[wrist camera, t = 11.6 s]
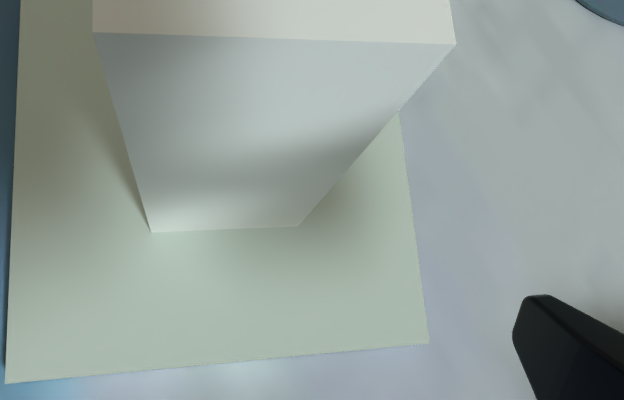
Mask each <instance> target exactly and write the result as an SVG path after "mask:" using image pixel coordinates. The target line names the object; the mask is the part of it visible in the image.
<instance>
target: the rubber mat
mask: <svg viewBox="0 0 624 400" xmlns="http://www.w3.org/2000/svg"><path fill="white" fill-rule="evenodd" d="M92 13H93V0H21V7H20V31H19V56H18V80H17V104H16V128H15V152H14V176H13V201H12V225H11V249H10V273H9V297H8V321H7V346H6V370H5V384H9V383H19V382H30V381H40V380H51V379H61V378H72V377H82V376H93V375H103V374H113V373H124V372H134V371H145V370H155V369H166V368H176V367H187V366H197V365H208V364H218V363H229V362H239V361H250V360H260V359H271V358H281V357H292V356H302V355H313V354H323V353H334V352H344V351H355V350H365V349H376V348H386V347H397V346H407V345H418V344H428V343H430V341H429V334H428V326H427V319H426V311H425V304H424V297H423V289H422V282H421V274H420V267H419V259H418V252H417V244H416V237H415V229H414V222H413V214H412V207H411V199H410V192H409V185H408V177H407V170H406V162H405V155H404V147H403V140H402V132H401V125H400V117H399V111H398V112H397V113H396V114H395V116H394V117H393V118H392V119H391V120H390V121H389V122H388V124H387V125H386V126H385V127H384V128H383V129H382V130H381V132H380V133H379V134H378V135H377V136H376V137H375V139H374V140H373V141H372V142H371V143H370V144H369V145H368V147H367V148H366V149H365V150H364V151H363V152H362V153H361V155H360V156H359V157H358V158H357V159H356V160H355V162H354V163H353V164H352V165H351V166H350V167H349V168H348V170H347V171H346V172H345V173H344V174H343V175H342V176H341V178H340V179H339V180H338V181H337V182H336V183H335V184H334V186H333V187H332V188H331V189H330V190H329V191H328V193H327V194H326V195H325V196H324V197H323V198H322V199H321V201H320V202H319V203H318V204H317V205H316V206H315V207H314V209H313V210H312V211H311V212H310V213H309V214H308V215H307V217H306V218H305V219H304V220H303V221H302V222H301V224H300V225H299V226H295V227H271V228H246V229H221V230H196V231H171V232H151V230H150V227H149V224H148V220H147V217H146V213H145V210H144V207H143V203H142V200H141V196H140V193H139V190H138V186H137V183H136V179H135V176H134V173H133V169H132V166H131V162H130V159H129V156H128V152H127V149H126V145H125V142H124V138H123V135H122V132H121V128H120V125H119V121H118V118H117V115H116V111H115V108H114V104H113V101H112V98H111V94H110V91H109V87H108V84H107V81H106V77H105V74H104V70H103V67H102V63H101V60H100V57H99V53H98V50H97V46H96V43H95V40H94V36H93V33H92Z"/></svg>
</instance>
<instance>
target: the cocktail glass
mask: <svg viewBox="0 0 624 400" xmlns="http://www.w3.org/2000/svg"><path fill="white" fill-rule="evenodd" d="M577 1H578V2H579V3H581V4H582V5H583V6H585V7H586V8H587V9H589V10H591V11H593V12H594V13H596V14H598V15H600V16H602V17H603V18H605V19H608V20H610V21H613V22H615V23H617V24H620V25H622V26H624V0H577Z"/></svg>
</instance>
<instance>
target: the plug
mask: <svg viewBox="0 0 624 400" xmlns="http://www.w3.org/2000/svg"><path fill="white" fill-rule="evenodd" d="M92 33H93V36H94V40H95V43H96V46H97V50H98V53H99V57H100V60H101V63H102V67H103V70H104V74H105V77H106V81H107V84H108V87H109V91H110V94H111V98H112V101H113V104H114V108H115V111H116V115H117V118H118V121H119V125H120V128H121V132H122V135H123V138H124V142H125V145H126V149H127V152H128V156H129V159H130V162H131V166H132V169H133V173H134V176H135V179H136V183H137V186H138V190H139V193H140V196H141V200H142V203H143V207H144V210H145V213H146V217H147V220H148V224H149V227H150V230H151V232H171V231H196V230H221V229H246V228H271V227H295V226H299V225H300V224H301V222H302V221H303V220H304V219H305V218H306V217H307V215H308V214H309V213H310V212H311V211H312V210H313V209H314V207H315V206H316V205H317V204H318V203H319V202H320V201H321V199H322V198H323V197H324V196H325V195H326V194H327V193H328V191H329V190H330V189H331V188H332V187H333V186H334V184H335V183H336V182H337V181H338V180H339V179H340V178H341V176H342V175H343V174H344V173H345V172H346V171H347V170H348V168H349V167H350V166H351V165H352V164H353V163H354V162H355V160H356V159H357V158H358V157H359V156H360V155H361V153H362V152H363V151H364V150H365V149H366V148H367V147H368V145H369V144H370V143H371V142H372V141H373V140H374V139H375V137H376V136H377V135H378V134H379V133H380V132H381V130H382V129H383V128H384V127H385V126H386V125H387V124H388V122H389V121H390V120H391V119H392V118H393V117H394V116H395V114H396V113H397V112H398V111H399V110H400V109H401V108H402V106H403V105H404V104H405V103H406V102H407V101H408V99H409V98H410V97H411V96H412V95H413V94H414V93H415V91H416V90H417V89H418V88H419V87H420V86H421V85H422V83H423V82H424V81H425V80H426V79H427V78H428V77H429V75H430V74H431V73H432V72H433V71H434V70H435V68H436V67H437V66H438V65H439V64H440V63H441V62H442V60H443V59H444V58H445V57H446V56H447V55H448V54H449V52H450V51H451V50H452V49H453V48H454V47H455V45H456V40H455V34H454V28H453V21H452V15H451V9H450V3H449V0H93V13H92Z"/></svg>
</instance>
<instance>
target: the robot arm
mask: <svg viewBox="0 0 624 400" xmlns="http://www.w3.org/2000/svg"><path fill="white" fill-rule="evenodd" d="M512 340H513V344H514V347H515V349H516V352H517V354H518V356H519V359H520V361H521V363H522V366H523V368H524V370H525V373H526V375H527V377H528V380H529V382H530V384H531V387H532V389H533V391H534V394H535V396H536V398H537V400H624V334H623V333H621V332H619V331H617V330H615V329H613V328H611V327H609V326H608V325H606V324H604V323H602V322H600V321H598V320H596V319H594V318H592V317H591V316H589V315H587V314H585V313H583V312H581V311H579V310H577V309H575V308H574V307H572V306H570V305H568V304H566V303H564V302H562V301H560V300H558V299H557V298H555V297H553V296H551V295H545V294H544V295H532V296H527V297H526V298H525V299H524V300H523V301H522V304H521V307H520V310H519V313H518V316H517V319H516V322H515V325H514V328H513V332H512Z"/></svg>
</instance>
